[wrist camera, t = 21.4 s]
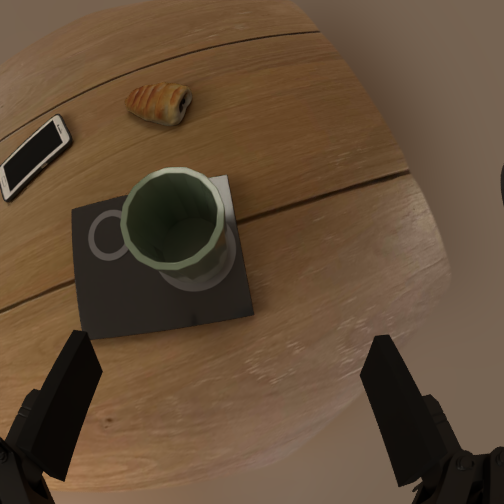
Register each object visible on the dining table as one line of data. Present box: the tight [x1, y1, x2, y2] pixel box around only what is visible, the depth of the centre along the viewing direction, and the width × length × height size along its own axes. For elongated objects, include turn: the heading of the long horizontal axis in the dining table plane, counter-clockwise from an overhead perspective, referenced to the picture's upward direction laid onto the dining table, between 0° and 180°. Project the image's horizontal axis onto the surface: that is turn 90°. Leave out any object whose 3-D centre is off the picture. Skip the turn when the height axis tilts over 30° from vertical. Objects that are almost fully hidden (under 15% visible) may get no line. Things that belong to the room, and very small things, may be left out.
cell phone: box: [0, 114, 72, 202], centre depth 34 cm, size 8×15×1 cm, turn 128°
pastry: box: [125, 82, 192, 126], centre depth 35 cm, size 9×7×4 cm
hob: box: [72, 175, 254, 340], centre depth 32 cm, size 20×16×2 cm
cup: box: [120, 167, 229, 284], centre depth 26 cm, size 7×7×12 cm
